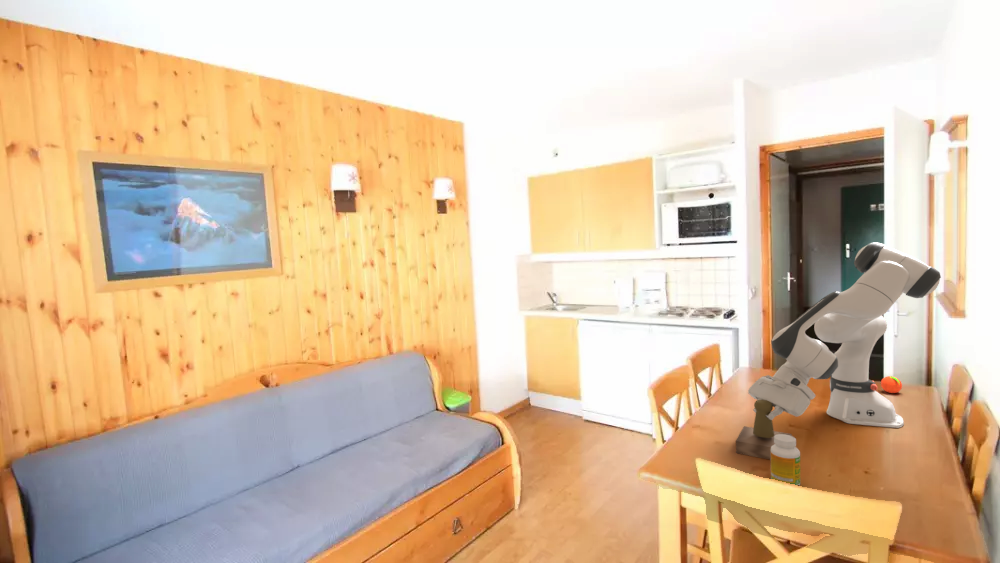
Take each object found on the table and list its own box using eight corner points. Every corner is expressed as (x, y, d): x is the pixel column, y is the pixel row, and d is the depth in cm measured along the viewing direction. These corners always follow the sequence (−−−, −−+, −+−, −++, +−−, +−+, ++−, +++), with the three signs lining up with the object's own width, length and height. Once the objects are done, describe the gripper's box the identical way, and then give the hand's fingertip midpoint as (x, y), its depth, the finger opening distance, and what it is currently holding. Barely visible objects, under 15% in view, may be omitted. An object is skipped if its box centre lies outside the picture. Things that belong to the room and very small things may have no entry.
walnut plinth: (791, 445, 157) (791, 433, 157) (786, 462, 146) (786, 450, 146) (744, 437, 165) (744, 426, 165) (736, 452, 154) (735, 440, 154)
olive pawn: (777, 438, 152) (777, 404, 151) (756, 437, 153) (756, 403, 152) (770, 430, 158) (770, 397, 157) (750, 430, 159) (750, 397, 158)
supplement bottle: (800, 490, 130) (800, 444, 129) (770, 485, 134) (769, 440, 133) (800, 479, 136) (800, 435, 135) (771, 474, 140) (771, 431, 139)
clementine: (908, 395, 197) (908, 378, 196) (891, 396, 197) (891, 379, 196) (893, 389, 205) (893, 373, 204) (876, 390, 205) (876, 374, 204)
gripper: (759, 368, 165) (734, 399, 164) (807, 384, 145) (779, 420, 144) (770, 379, 166) (745, 410, 165) (820, 397, 146) (792, 433, 145)
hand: (762, 415), depth 155 cm, fingers closed on olive pawn, 4 cm apart
